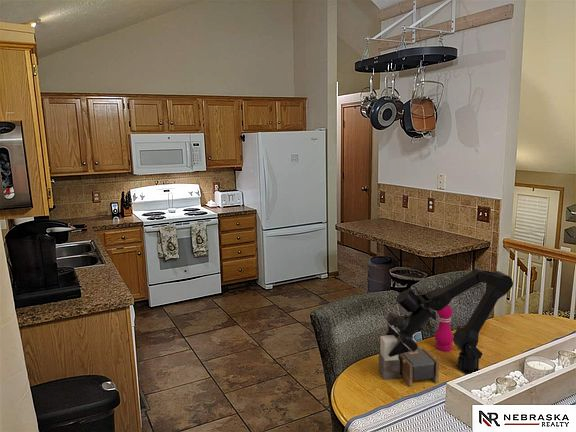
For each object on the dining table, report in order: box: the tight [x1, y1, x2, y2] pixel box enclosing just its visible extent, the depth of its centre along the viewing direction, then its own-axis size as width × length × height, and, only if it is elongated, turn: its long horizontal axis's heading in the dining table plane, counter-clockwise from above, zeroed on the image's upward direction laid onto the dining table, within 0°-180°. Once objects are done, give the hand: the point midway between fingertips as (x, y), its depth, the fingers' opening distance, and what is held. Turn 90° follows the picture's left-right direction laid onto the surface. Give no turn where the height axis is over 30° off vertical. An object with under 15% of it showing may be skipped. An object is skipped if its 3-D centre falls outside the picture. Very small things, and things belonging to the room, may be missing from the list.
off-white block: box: [379, 335, 398, 361], centre depth 163 cm, size 5×6×7 cm
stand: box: [378, 352, 401, 380], centre depth 164 cm, size 6×6×7 cm
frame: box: [398, 347, 440, 388], centre depth 161 cm, size 12×11×8 cm
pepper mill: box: [434, 304, 454, 352], centre depth 182 cm, size 7×7×20 cm
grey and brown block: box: [402, 346, 434, 381], centre depth 162 cm, size 8×12×6 cm, turn 10°
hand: (385, 350), depth 163 cm, fingers open, 9 cm apart
